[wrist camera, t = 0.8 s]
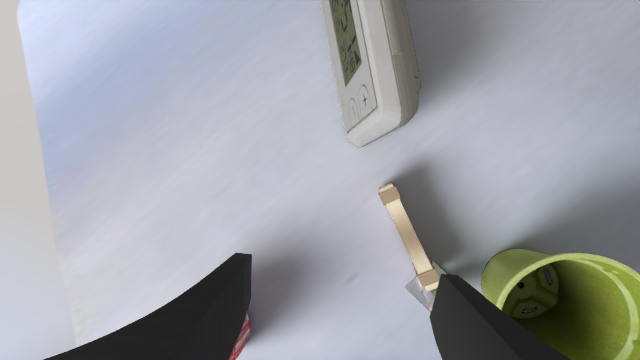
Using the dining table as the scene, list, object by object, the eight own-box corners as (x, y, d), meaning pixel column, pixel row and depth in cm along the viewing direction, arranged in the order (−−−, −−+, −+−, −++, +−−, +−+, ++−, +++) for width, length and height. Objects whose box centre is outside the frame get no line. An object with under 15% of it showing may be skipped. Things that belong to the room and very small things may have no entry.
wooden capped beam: (435, 271, 28) (443, 286, 24) (419, 277, 28) (425, 293, 24) (392, 181, 28) (393, 183, 25) (377, 188, 29) (376, 190, 25)
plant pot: (444, 247, 28) (471, 280, 19) (554, 213, 26) (637, 233, 18) (482, 346, 27) (528, 424, 19) (597, 319, 26) (704, 391, 17)
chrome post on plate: (463, 289, 28) (478, 311, 23) (434, 315, 28) (444, 341, 24) (432, 260, 28) (442, 276, 24) (405, 287, 29) (409, 307, 24)
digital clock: (321, -19, 30) (288, -122, 19) (418, -30, 28) (439, -151, 18) (319, 148, 30) (286, 135, 20) (415, 148, 28) (434, 133, 18)
